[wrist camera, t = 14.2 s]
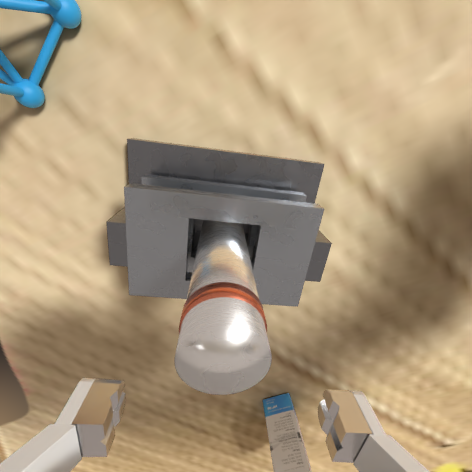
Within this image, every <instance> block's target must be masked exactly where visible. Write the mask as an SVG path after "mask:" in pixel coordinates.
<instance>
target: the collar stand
mask: <svg viewBox="0 0 472 472" xmlns="http://www.w3.org/2000/svg"><path fill="white" fill-rule="evenodd" d="M127 145H128V171H129V184H128V185H126V186H125V187H124V195H125V207H124V208H123V209H122V210H121V211H119V212H118V213H117V214H116V215H114V216H113V217H112V218H111V219H109V220H108V221H107V234H108V247H109V260H110V265H115V266H127V267H128V281H129V295H137V296H151V297H166V298H181V299H187V296H188V291H189V286H190V281H191V276H192V271H193V267H194V262H195V257H196V252H197V247H198V242H199V238H200V233H201V228H202V223H203V220H212V221H222V222H232V223H242V225H243V229H244V234H245V238H246V243H247V247H248V252H249V256H250V261H251V265H252V270H253V274H254V279H255V283H256V288H257V292H258V297H259V300H260V302H261V304H269V305H283V306H298V304H299V300H300V296H301V292H302V289H303V285H304V281H317V282H320V280H321V277H322V274H323V270H324V267H325V264H326V260H327V257H328V254H329V250H330V247H331V244H332V243H331V242H330V241H329V240H328V239H327V238H326V237H325V236H324V235H323V234H322V233H321V232H320V231H319V226H320V223H321V219H322V215H323V212H324V208H322V207H321V206H320V205H318V204H314V203H315V199H316V195H317V191H318V187H319V183H320V180H321V176H322V172H323V168H324V164H322V163H319V162H311V161H304V160H296V159H288V158H280V157H273V156H265V155H257V154H249V153H242V152H234V151H226V150H218V149H211V148H203V147H195V146H188V145H180V144H172V143H164V142H157V141H149V140H141V139H133V138H131V139H127Z"/></svg>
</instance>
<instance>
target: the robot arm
mask: <svg viewBox="0 0 472 472" xmlns="http://www.w3.org/2000/svg"><path fill="white" fill-rule="evenodd" d="M124 387H125V383H124V380H112V379H97V378H82V379H81V380H80V381H79V382H78V384H77V386H76V387H75V389H74V391H73V393H72V394H71V396H70V398H69V399H68V401H67V403H66V405H65V406H64V408H63V410H62V411H61V413H60V415H59V417H58V418H57V420H56V422H55V423H54V424H49V425H48V426H47V427H45V428H44V429H43V430H42V431H40V432H39V433H38V434H37V435H35V436H34V437H33V438H32V439H30V440H29V441H28V442H27V443H25V444H24V445H23V446H22V447H20V448H19V449H18V450H17V451H15V452H14V453H13V454H12V455H10V456H9V457H8V458H7V459H5V460H4V461H3V462H2V463H0V472H70V471H71V470H72V469H73V468H74V467H75V466H76V465H77V464H78V462H79V461H80V460H81V459H82V457H107V456H108V453H109V450H110V448H111V445H112V442H113V440H114V437H115V429H114V427H115V426H116V425H117V424H118V423H119V422H120V420H121V417H122V414H123V410H124V406H125V399H126V396H125V393H124V392H123V390H124ZM323 397H324V400H322V401H321V402H320V403H319V406H318V418H319V423H320V426H321V429H322V430H323V431H324V432H325V433H326V434H327V437H326V444H327V447H328V450H329V454H330V457H331V460H332V462H349V463H354V466H355V467H356V468H357V470H358V471H359V472H429V471H428V470H427V469H426V468H425V467H424V466H423V465H422V464H421V463H420V462H418V461H417V460H416V459H415V458H414V457H413V456H412V455H411V454H410V453H409V452H408V451H407V450H405V449H404V448H403V447H402V446H401V445H400V444H399V443H398V442H397V441H396V440H395V439H394V438H392V437H391V436H390V435H386V433H385V432H384V430H383V428H382V426H381V424H380V422H379V420H378V418H377V417H376V415H375V413H374V411H373V409H372V407H371V405H370V404H369V402H368V400H367V398H366V396H365V394H364V393H363V392H362V391H349V390H325V391H324V393H323Z"/></svg>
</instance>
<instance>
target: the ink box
mask: <svg viewBox="0 0 472 472" xmlns="http://www.w3.org/2000/svg"><path fill="white" fill-rule="evenodd" d="M263 406H264V412H265V419H266V425H267V431H268V437H269V444H270V450H271V457H272V463H273V469H274V472H312V471H311V467H310V463H309V460H308V456H307V452H306V448H305V444H304V441H303V437H302V433H301V430H300V426H299V422H298V419H297V415H296V412H295V409H294V406H293V403H292V400H291V397H290V394H289V393H286V394H282V395H278V396H275V397H271V398H267V399H263Z"/></svg>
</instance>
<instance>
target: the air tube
mask: <svg viewBox="0 0 472 472" xmlns="http://www.w3.org/2000/svg"><path fill="white" fill-rule="evenodd" d="M271 360H272V355H271V350H270V346H269V341H268V337H267V324H266V319H265V315H264V311H263V307H262V304H261V302H260V300H259V297H258V292H257V288H256V283H255V279H254V274H253V270H252V265H251V261H250V256H249V252H248V247H247V243H246V238H245V234H244V229H243V225H242V223H232V222H222V221H212V220H203V223H202V228H201V233H200V238H199V242H198V247H197V252H196V257H195V262H194V267H193V271H192V276H191V281H190V286H189V291H188V296H187V300H186V303H185V305H184V307H183V311H182V316H181V320H180V325H179V339H178V344H177V349H176V354H175V368H176V371H177V373H178V375H179V376H180V378H181V379H182V380H183V381H184V382H185V383H186V384H187V385H189V386H190V387H192V388H194V389H196V390H198V391H201V392H204V393H208V394H215V395H227V394H234V393H238V392H242V391H244V390H247V389H249V388H251V387H253V386H254V385H256V384H257V383H258V382H260V381H261V380H262V379H263V378H264V377H265V375H266V374H267V372H268V370H269V368H270V366H271Z"/></svg>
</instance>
